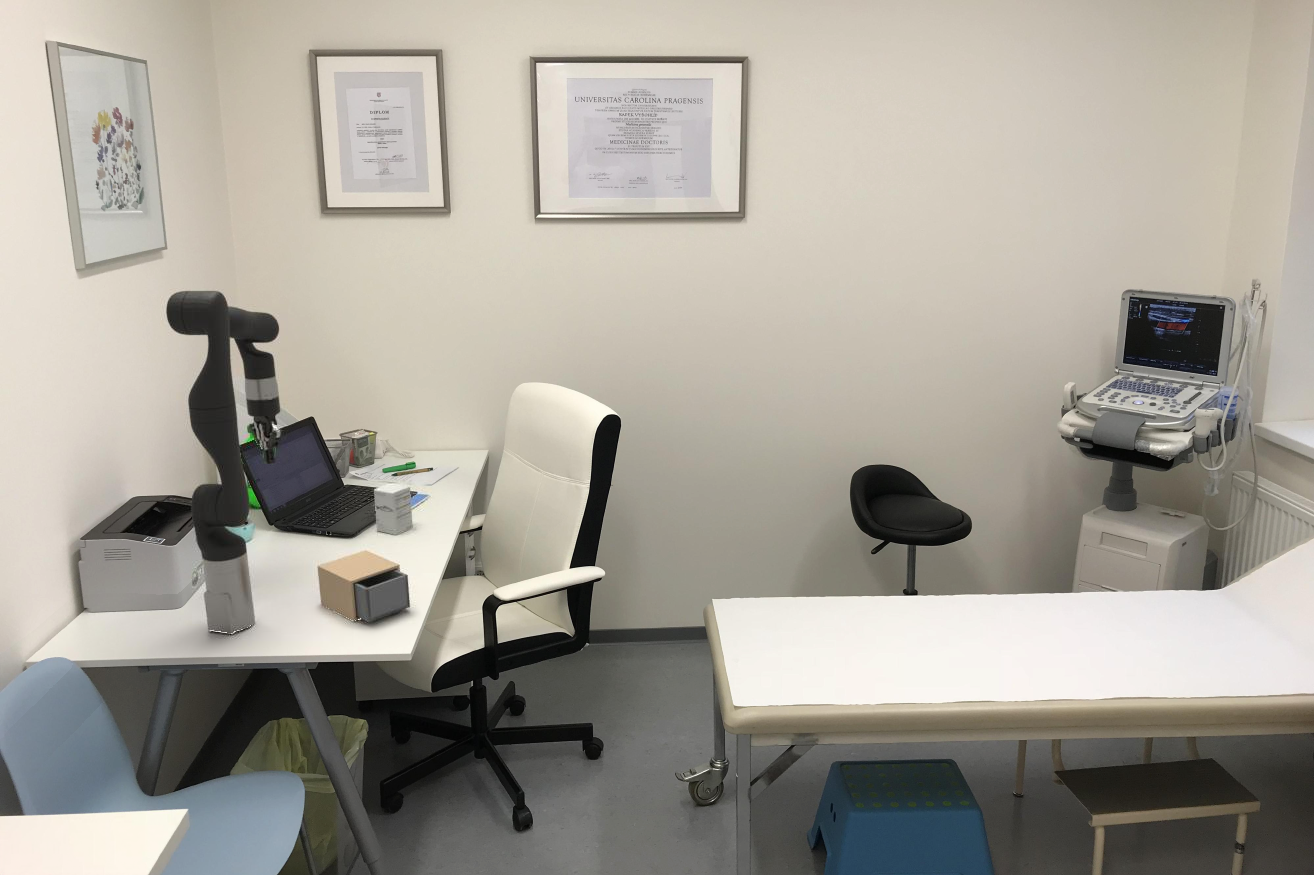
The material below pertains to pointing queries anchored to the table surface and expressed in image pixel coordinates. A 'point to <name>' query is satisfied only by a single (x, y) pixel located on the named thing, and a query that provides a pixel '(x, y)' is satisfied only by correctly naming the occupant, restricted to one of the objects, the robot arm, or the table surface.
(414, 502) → the tablet computer
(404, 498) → the supplement box
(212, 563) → the robot arm
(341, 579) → the mailer sleeve
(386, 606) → the mailer tray
